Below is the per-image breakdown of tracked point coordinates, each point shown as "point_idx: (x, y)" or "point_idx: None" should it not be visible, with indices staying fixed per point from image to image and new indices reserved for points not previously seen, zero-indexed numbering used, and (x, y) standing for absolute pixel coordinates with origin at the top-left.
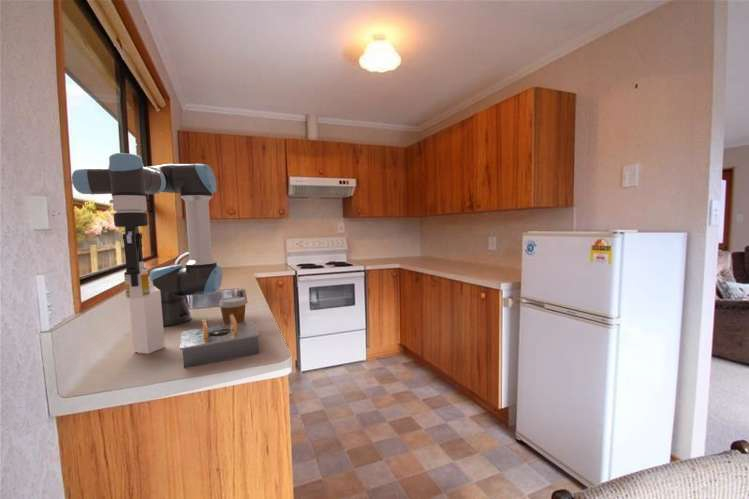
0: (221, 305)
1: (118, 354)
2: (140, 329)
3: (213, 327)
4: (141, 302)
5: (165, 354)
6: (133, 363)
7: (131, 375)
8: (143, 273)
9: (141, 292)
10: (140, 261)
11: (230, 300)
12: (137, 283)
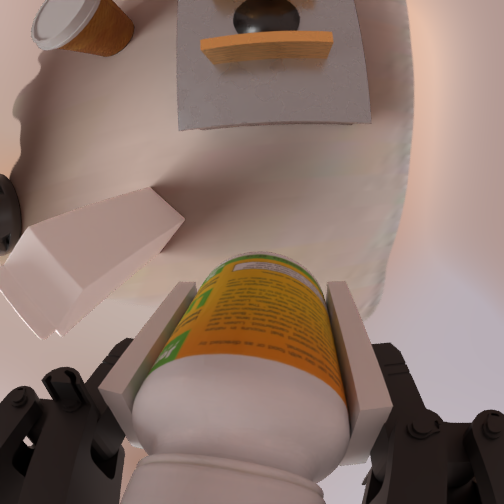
0: (75, 31)
1: (159, 283)
2: (145, 254)
3: (188, 41)
4: (101, 282)
5: (211, 175)
6: (242, 242)
7: (328, 235)
8: (327, 391)
9: (351, 300)
10: (75, 490)
11: (57, 15)
12: (400, 357)
